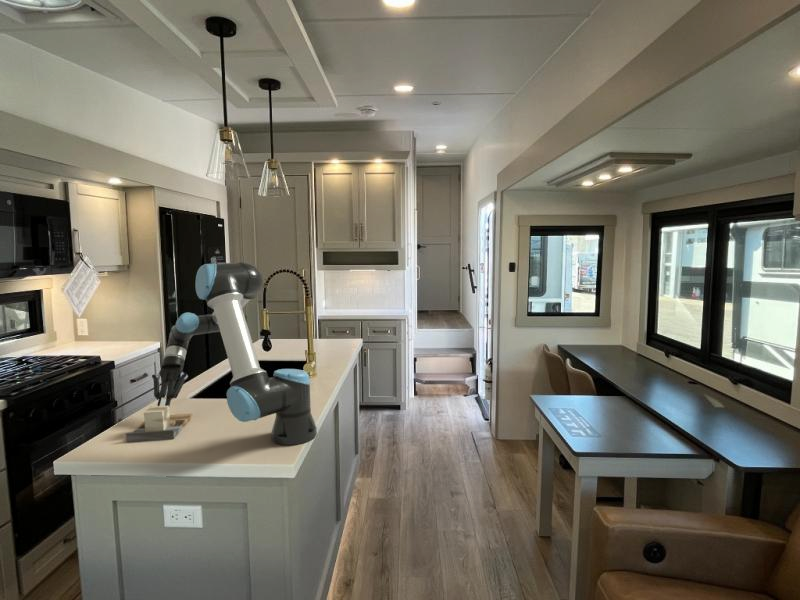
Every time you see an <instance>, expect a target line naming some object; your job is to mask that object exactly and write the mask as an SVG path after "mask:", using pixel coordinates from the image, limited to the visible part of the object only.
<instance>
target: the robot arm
mask: <svg viewBox="0 0 800 600" xmlns="http://www.w3.org/2000/svg"><path fill="white" fill-rule="evenodd" d="M264 281H265V279H264V276H263V273H262V272H261V270H260V269H259V268H258V267H256V266H255V265H254V264H251V263H250V262H244V261H243V262H224V263H223V262H221V263H220V262H219V263H216V262H213V263H205V264H203V265H201V266H200V267H199V268H198V270H197V272H196V276H195V292H196V296H197V297H198V299H200V300H203V301H204V300H205V302H206V305H207V307H209V308H210V309H213V312H212V313H211V314H210V313H209V314H204V315H203V314H202V315H197V314H196V313H192V312H189V311H188V312H184V313H182V314H181V315H179V317H178V318H177V320H176V322H175V325H173V326H172V327H171V330H170V332H169V336H168V341H167V345H166V349H165V352H164V356H163V361H162V364H161V369H160V370H159V372H158V373H157V374H152V375H151V377H152V379H153V396H154V398H155V399H156V400H158V401H157V405H156V406H169V407H170V405H171V402H172V400H174V399H177V398H178V395H179V394H180V392H181V390H182V387H183V385H184V383H185V382H186V381H187V380H188V378H189V375H188V373H187V372H184V371H183V369H184V366H185V360H186V357H187V356H186V355H187V352H188V347H189V342H190V341H191V339H192V337H193V336H196V335H197V336H198V335H205V334H211V333H220V336H221V339H222V341H223V342H222V343H223V346H224V349H225V352H226V356H227V359H228V363H229V367H230V369H231V373H232V379H231V381H230V382H229V385H230V387H229V388H228V389H227V391H226V397H227V398H226V403H227V406H228V408H229V410H230V413H231V415H233V417H234V418H235V419H237V420H238V421H239V422H243V423H247V422H251V421H257V420H259V419H261V418H265V417H267V416H271V415H273V414H274V415H275V419H274V422H273V426H272V429H271V440H272V441H273V443H275V444H277V445H283V446H294V445H301V444H304V443H307V442H310V441H312V440H314V439H315V438H316V437H317V434H318V432H317V431H318V428H317V424H316V423H315V420H314V417H313V415H312V410H311V386H310V385H311V383H310V382H311V380H310V375H309V373H308V372H307V371H305V370H302V369H297V368H281V369H277V370H274V371H273V375H272V376H273V377H272V376H271V377H269V376H268V373H267V371H266V370H264V369H263V368H262V367H260V363H259V362H260V361H259V359H258V356H257V353H256V349H255V346H254V344H253V340H252V336H251V333H250V329H249V326H248V323H247V319H246V316H245V314H244V310H243V309H244V307H245V306H246V305H247V304H248V303H249V301H250V300H254V299H256V298H257V297H258V296H259V295H260V293H261V292H262V290H263V288H264V284H265V282H264ZM161 379H162V380H161ZM160 380H161V381H162V382H161V387H160ZM177 380H178V381H177Z"/></svg>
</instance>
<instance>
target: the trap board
mask: <svg viewBox="0 0 800 600" xmlns="http://www.w3.org/2000/svg"><path fill="white" fill-rule="evenodd" d="M169 416H170V425H169V426H168V427H167V428H166V429H165V430H161V431H147V432H145V421H144V422H143V423H142V424H141V425H139V426H138V427H137V428H136V429H135V430H134V431H133V432H126V433H125V437H126V439H125V440H126V443H135V442H136V443H137V442H139V443H140V442H149V441H151V442H153V441H163V440H164V441H165V440H174V439H175V438H176V437H177V436H178V435H179V434H180V432H181V431H182V430H183V429H185V428H184V427H186V426H187V425H188V423H189V422H190V421H191V420H192V419H193V416H194V415H193V413H181V414H178V413H177V414H169Z"/></svg>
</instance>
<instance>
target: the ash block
mask: <svg viewBox="0 0 800 600" xmlns="http://www.w3.org/2000/svg"><path fill="white" fill-rule="evenodd" d="M169 415H170V406H157V405H156V406H155V405H154V406H150V407H149V408H148V409H146V410H145V411H144V412H143V417H144V418H143V419H144V422H145V432H147V431H161V430H165V429H166V428H167V427H168V426H169V425H170V416H169Z"/></svg>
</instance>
